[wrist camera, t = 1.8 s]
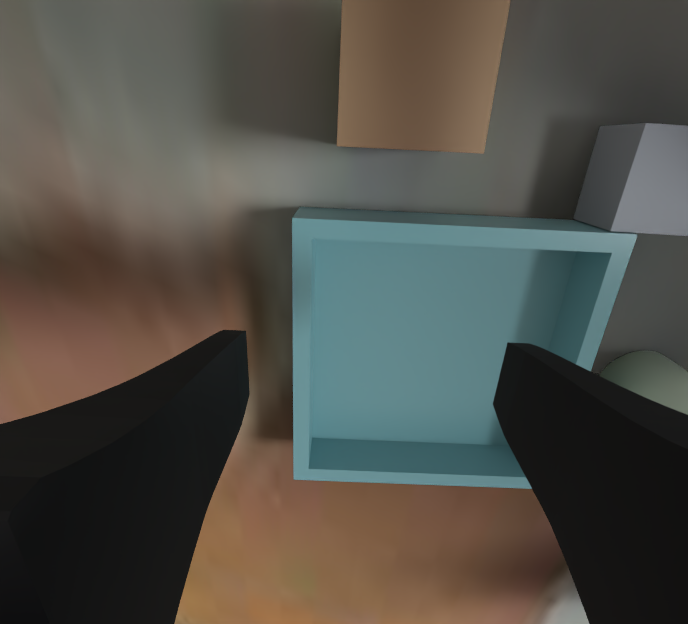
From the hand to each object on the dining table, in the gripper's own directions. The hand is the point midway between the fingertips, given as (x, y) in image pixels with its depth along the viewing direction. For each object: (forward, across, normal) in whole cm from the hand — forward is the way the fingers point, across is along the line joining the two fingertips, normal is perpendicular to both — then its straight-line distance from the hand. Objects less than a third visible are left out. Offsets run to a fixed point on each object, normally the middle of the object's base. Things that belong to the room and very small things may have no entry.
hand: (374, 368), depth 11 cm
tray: (+10, -4, +4) cm, 11 cm away
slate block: (+10, -12, -5) cm, 16 cm away
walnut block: (+10, -1, -8) cm, 12 cm away
